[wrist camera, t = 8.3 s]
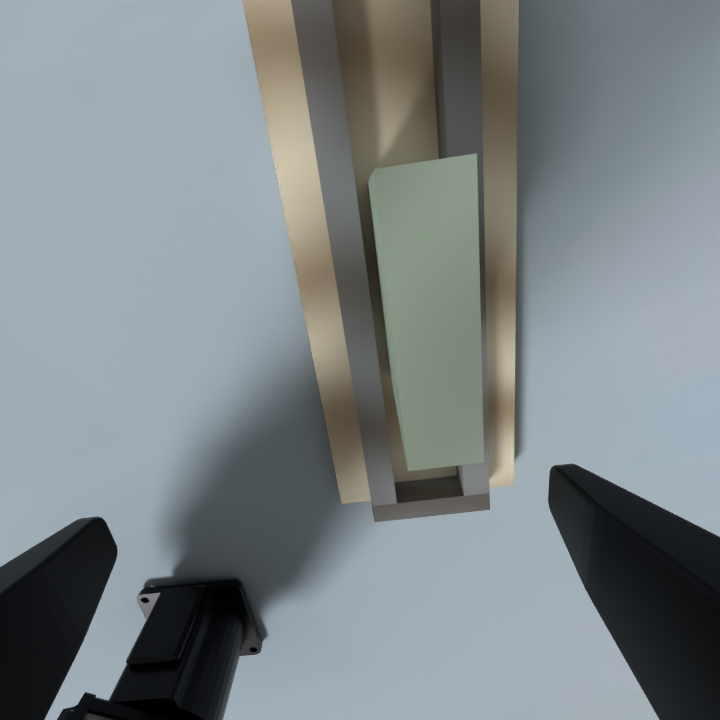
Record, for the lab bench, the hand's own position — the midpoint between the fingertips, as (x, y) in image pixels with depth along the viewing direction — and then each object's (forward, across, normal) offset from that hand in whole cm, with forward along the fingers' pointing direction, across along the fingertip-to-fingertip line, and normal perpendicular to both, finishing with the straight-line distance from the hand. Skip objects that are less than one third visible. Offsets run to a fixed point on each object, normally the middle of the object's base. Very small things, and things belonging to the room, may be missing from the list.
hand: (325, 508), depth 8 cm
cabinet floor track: (+11, -3, -2) cm, 12 cm away
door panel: (+10, -3, -2) cm, 11 cm away
